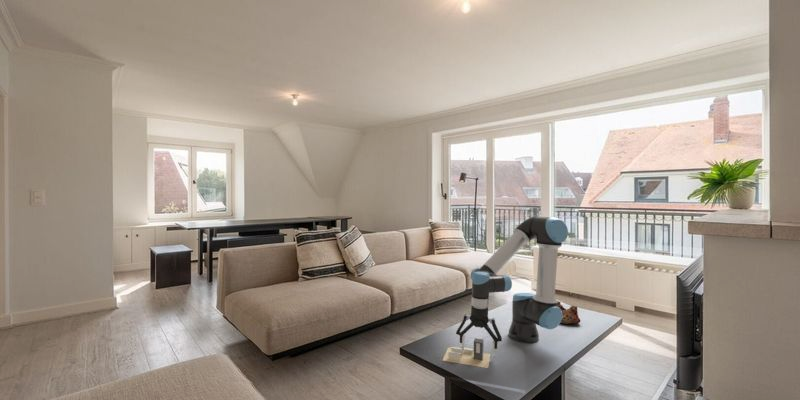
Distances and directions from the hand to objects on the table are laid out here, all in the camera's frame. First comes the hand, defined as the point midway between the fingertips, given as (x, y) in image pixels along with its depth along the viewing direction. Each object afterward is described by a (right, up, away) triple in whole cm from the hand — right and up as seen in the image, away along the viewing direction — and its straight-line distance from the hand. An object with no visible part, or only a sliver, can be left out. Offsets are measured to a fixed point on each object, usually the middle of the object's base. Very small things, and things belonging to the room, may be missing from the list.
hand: (477, 352), depth 158 cm
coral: (+65, -4, +52) cm, 83 cm away
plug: (0, -2, 0) cm, 2 cm away
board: (-5, -3, +1) cm, 6 cm away
